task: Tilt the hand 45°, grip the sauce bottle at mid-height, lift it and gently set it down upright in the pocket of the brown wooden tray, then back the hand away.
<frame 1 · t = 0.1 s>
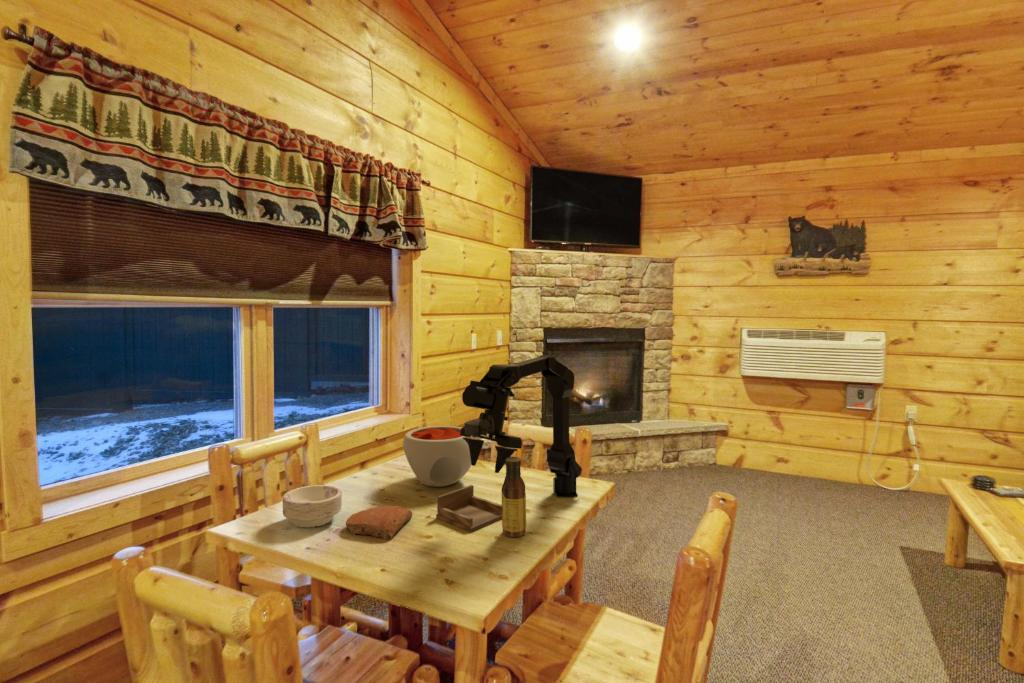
hand: (484, 469, 144), 15 cm above the table, tool pointing down, fingers open, 9 cm apart
beige round bowl: (313, 522, 148), on the table
sauce bottle: (513, 534, 140), on the table
brown rounded slab: (377, 528, 144), on the table
pot: (439, 483, 179), on the table
brown wooden tray: (470, 516, 150), on the table
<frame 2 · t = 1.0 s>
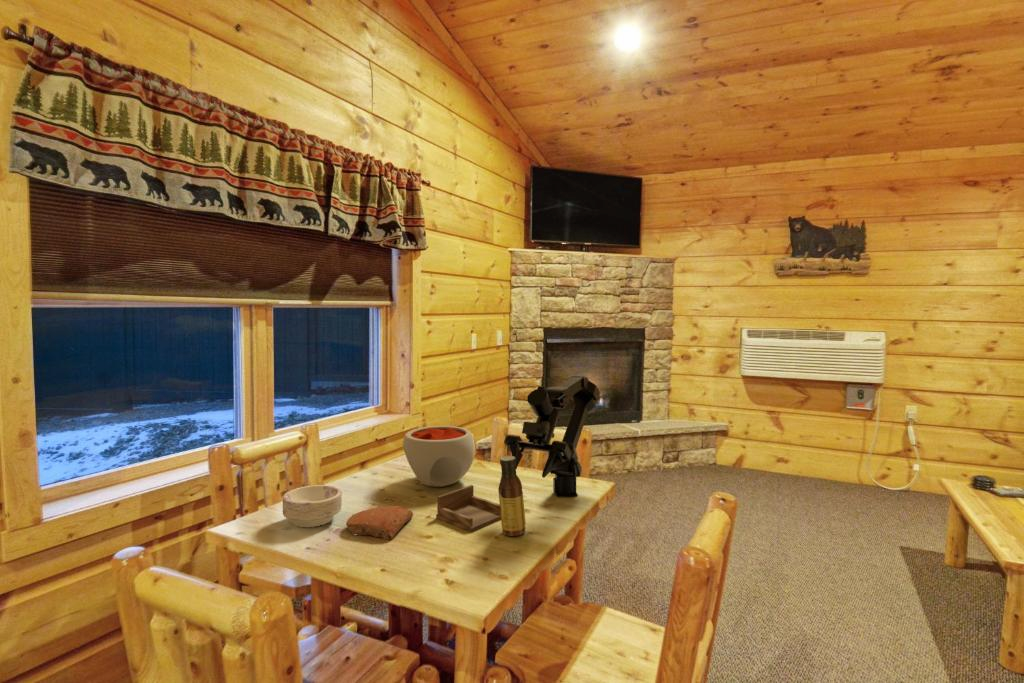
hand: (527, 474, 146), 13 cm above the table, tool tilted 45°, fingers open, 9 cm apart
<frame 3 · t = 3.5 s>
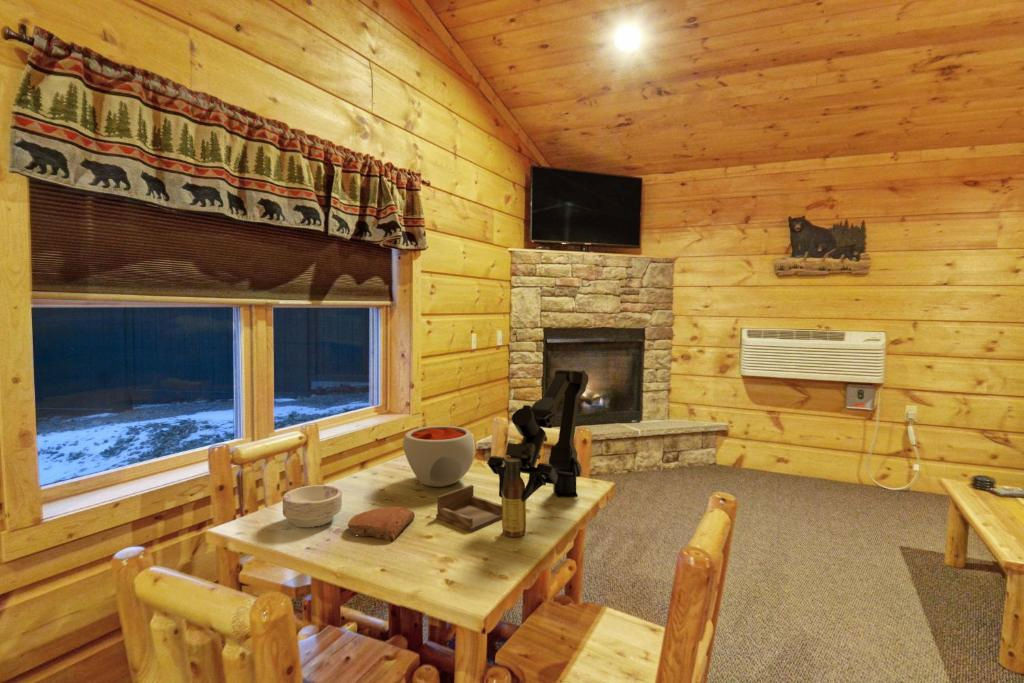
hand: (511, 498, 138), 10 cm above the table, tool tilted 45°, fingers closed on sauce bottle, 6 cm apart
sauce bottle: (513, 534, 140), on the table, touching gripper
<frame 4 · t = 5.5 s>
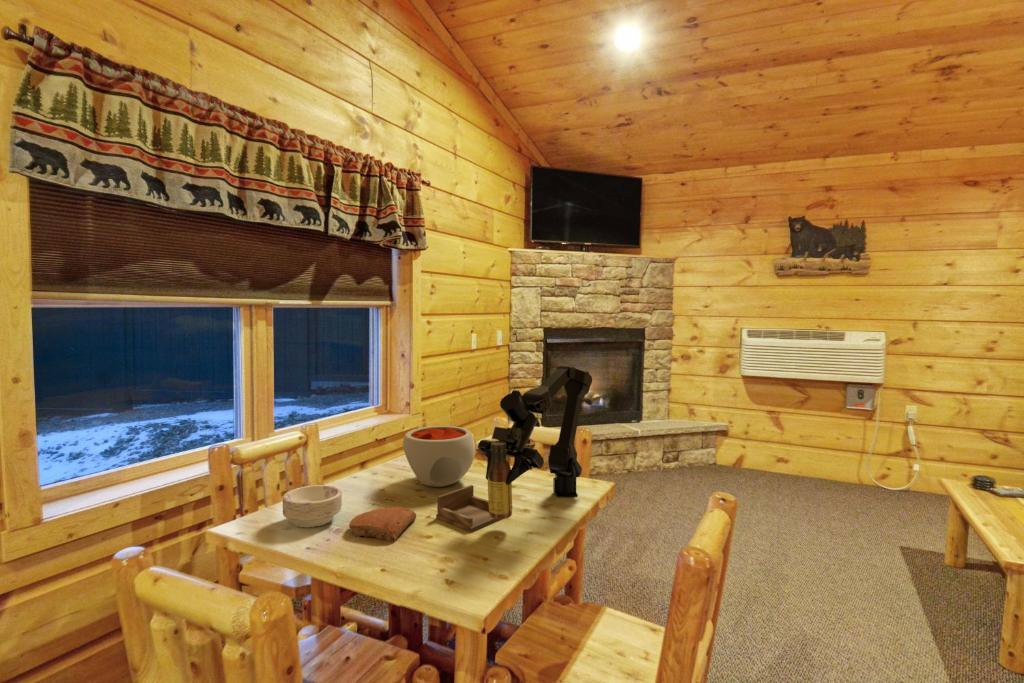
hand: (496, 481, 140), 13 cm above the table, tool tilted 45°, fingers closed on sauce bottle, 6 cm apart
sauce bottle: (500, 516, 142), point 3 cm above the table, touching gripper
when the fingers open (12 cm above the table, at t = 7.6 s): sauce bottle drops 1 cm, resting on brown wooden tray.
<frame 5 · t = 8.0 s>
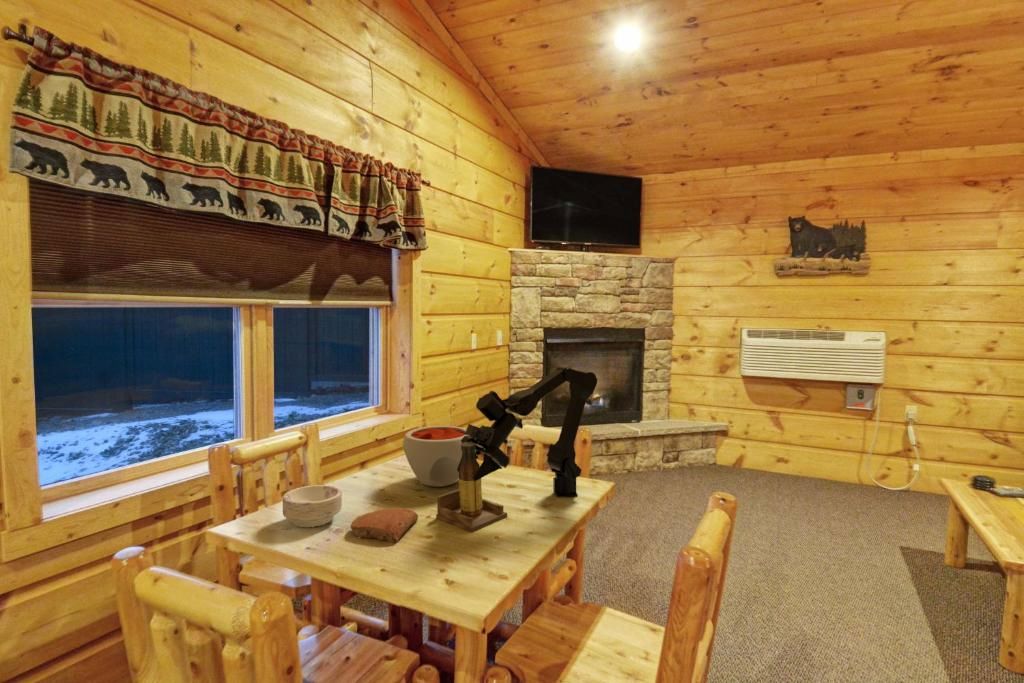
hand: (465, 475, 149), 12 cm above the table, tool tilted 45°, fingers open, 9 cm apart
sauce bottle: (470, 513, 151), point 1 cm above the table, touching brown wooden tray
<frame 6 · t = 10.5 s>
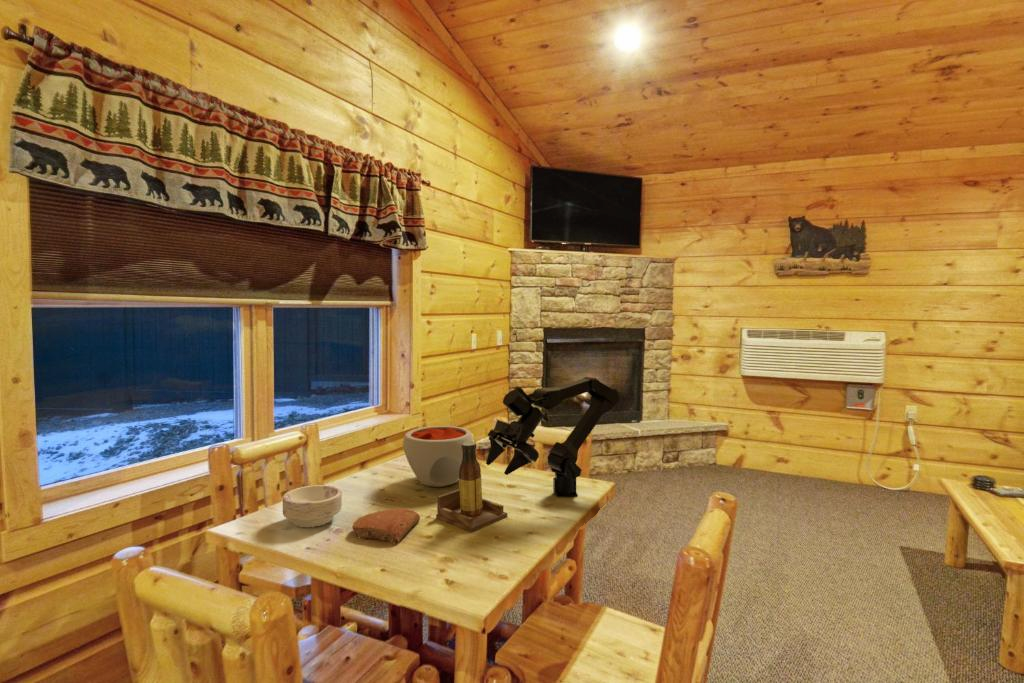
hand: (496, 469, 155), 12 cm above the table, tool tilted 40°, fingers open, 9 cm apart
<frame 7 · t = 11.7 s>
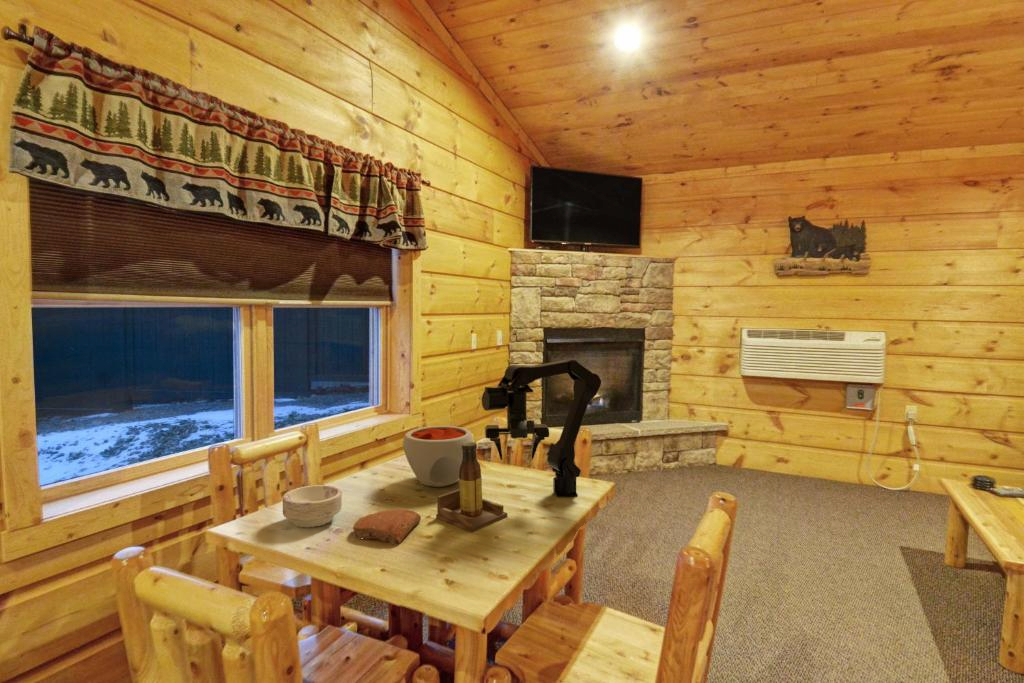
hand: (516, 459, 161), 13 cm above the table, tool pointing down, fingers open, 9 cm apart
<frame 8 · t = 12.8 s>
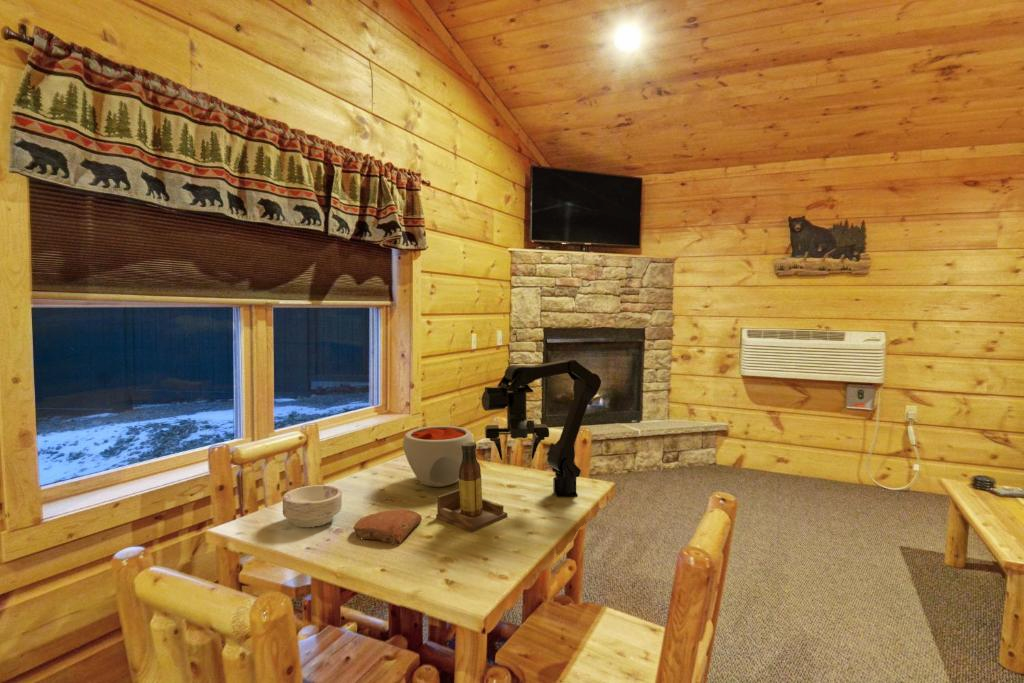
hand: (516, 459, 161), 13 cm above the table, tool pointing down, fingers open, 9 cm apart
at the end: sauce bottle inside the target area on the brown wooden tray (0.1 cm from its centre), point 0.8 cm above the brown wooden tray's base; sauce bottle tilted 0°; the gripper is holding nothing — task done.
